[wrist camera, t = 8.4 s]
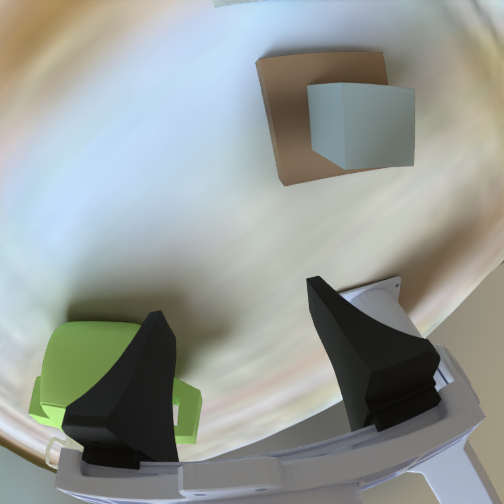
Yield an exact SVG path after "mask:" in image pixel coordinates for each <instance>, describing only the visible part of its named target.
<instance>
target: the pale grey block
mask: <svg viewBox="0 0 504 504" xmlns="http://www.w3.org/2000/svg"><path fill="white" fill-rule="evenodd" d="M307 92H308V103H309V115H310V129H311V145H312V150H313V151H315V152H317V153H318V154H320V155H322V156H323V157H325V158H327V159H328V160H330V161H332V162H333V163H335V164H337V165H338V166H340V167H341V168H343V169H345V170H350V169H364V168H380V167H402V166H414V149H415V93H414V89H411V88H404V87H395V86H386V85H375V84H361V83H328V84H316V85H307Z"/></svg>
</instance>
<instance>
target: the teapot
mask: <svg viewBox="0 0 504 504" xmlns="http://www.w3.org/2000/svg"><path fill="white" fill-rule="evenodd" d="M140 327H141V325H140V324H135V323H126V322H106V321H74V322H66V323H64V324H63V325H61V326H60V327H59V328H57V329H56V330H55V331H54V332H53V334H52V335H51V338H50V340H49V343H48V346H47V349H46V352H45V356H44V360H43V365H42V373H41V376H39V377H36V381H35V385H34V389H33V394H32V398H31V403H30V407H29V412H28V413H29V414H30V415H31V416H32V417H33V418H34V419H35V420H36V421H37V422H38V423H41V424H45V425H49V426H53V427H57V428H59V429H60V430H62V428H61V425H62V421H63V417H64V413H65V410H66V406H68V405H69V404H71V403H72V402H74V401H75V400H76V399H78V398H79V397H81V396H82V395H83V394H84V393H86V392H87V391H88V390H89V389H90V388H92V387H93V386H94V385H95V384H96V383H97V382H98V381H99V380H100V379H101V378H102V377H103V376H104V375H105V374H106V373H107V372H108V371H109V370H110V369H111V367H112V366H113V365H114V364H115V363H116V361H117V360H118V359H119V358H120V356H121V355H122V353H123V352H124V351H125V349H126V348H127V346H128V345H129V344H130V342H131V341H132V339H133V338H134V336H135V335H136V333H137V332H138V330H139V328H140ZM173 403H174V404H175V405H177V406H179V411H178V423H177V426H174V433H175V440H176V444H196V437H197V431H198V425H199V418H200V412H201V406H202V397H201V392H200V390H198V389H196V388H194V387H192V386H190V385H188V384H187V383H185V382H183V381H181V380H179V379H177V378H175V377H174V383H173V396H172V404H173ZM62 431H63V430H62ZM72 440H73V439H72ZM75 442H76V441H75ZM76 443H77V442H76ZM78 444H79V443H78ZM79 445H80V444H79ZM81 446H82V445H81ZM83 449H84V447H83Z"/></svg>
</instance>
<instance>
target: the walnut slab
mask: <svg viewBox="0 0 504 504" xmlns="http://www.w3.org/2000/svg"><path fill="white" fill-rule="evenodd" d="M255 64H256V68H257V72H258V77H259V81H260V86H261V91H262V95H263V100H264V105H265V110H266V114H267V119H268V124H269V129H270V134H271V139H272V145H273V150H274V155H275V160H276V166H277V171H278V177H279V179H280V181H281V182H282V184H283V185H284V186H289V185H293V184H298V183H303V182H308V181H313V180H318V179H323V178H329V177H334V176H340V175H345V174H351V173H357V172H363V171H369V170H375V169H381V168H387V167H380V168H364V169H350V170H345V169H343V168H341V167H340V166H338V165H337V164H335V163H333V162H332V161H330V160H328V159H327V158H325V157H323V156H322V155H320V154H318V153H317V152H315V151H313V150H312V145H311V129H310V115H309V103H308V92H307V85H316V84H328V83H361V84H375V85H386V86H388V82H387V76H386V69H385V63H384V58H383V52H319V53H305V54H294V55H284V56H276V57H269V58H262V59H259V60H257V61H256V62H255Z"/></svg>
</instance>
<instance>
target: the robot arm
mask: <svg viewBox="0 0 504 504" xmlns="http://www.w3.org/2000/svg"><path fill="white" fill-rule="evenodd" d="M306 281H307V291H308V301H309V310H310V313H311V316H312V320H313V323H314V326H315V328H316V331H317V333H318V335H319V337H320V339H321V341H322V344H323V346H324V348H325V350H326V352H327V354H328V357H329V359H330V361H331V363H332V366H333V368H334V371H335V374H336V377H337V381H338V384H339V387H340V390H341V394H342V397H343V401H344V404H345V408H346V411H347V415H348V419H349V423H350V427H351V431H352V432H351V433H348V434H345V435H341V436H338V437H335V438H331V439H328V440H324V441H321V442H317V443H313V444H309V445H305V446H301V447H296V448H292V449H288V450H282V451H277V452H272V453H266V454H260V455H254V456H247V457H240V458H231V459H222V460H210V461H194V462H179V459H178V453H177V448H176V440H175V433H174V422H173V404H172V396H173V383H174V373H175V363H176V338H175V336H174V334H173V332H172V330H171V329H170V327H169V325H168V323H167V321H166V319H165V317H164V315H163V314H162V312H161V311H155V312H150V313H149V315H148V316H147V318H146V319H145V321H144V322H143V324H142V325H141V327H140V328H139V330H138V332H137V333H136V335H135V336H134V338H133V339H132V341H131V342H130V344H129V345H128V346H127V348H126V349H125V351H124V352H123V353H122V355H121V356H120V358H119V359H118V360H117V361H116V363H115V364H114V365H113V366H112V367H111V369H110V370H109V371H108V372H107V373H106V374H105V375H104V376H103V377H102V378H101V379H100V380H99V381H98V382H97V383H96V384H95V385H94V386H93V387H92V388H90V389H89V390H88V391H87V392H86V393H84V394H83V395H82V396H81V397H79V398H78V399H76V400H75V401H74V402H72V403H71V404H69V405H68V406H66V410H65V413H64V417H63V421H62V425H61V428H62V430H63V432H64V433H65V434H66V435H67V436H69V437H70V438H71V439H73V440H74V441H76V442H77V443H79V444H80V445H82V446H83V447H84V449H83V452H82V451H79V450H75V449H69V448H64V447H63V448H61V453H60V458H59V463H58V469H57V475H56V482H55V488H57V489H59V490H61V491H63V492H65V493H67V494H70V495H72V496H74V497H77V498H79V499H81V500H84V501H87V502H91V503H95V504H363V500H362V497H361V494H360V491H363V490H365V489H368V488H370V487H373V486H376V485H378V484H380V483H383V482H385V481H387V480H389V479H392V478H394V477H396V476H398V475H401V474H403V473H405V472H417V473H422V474H423V475H424V477H425V479H426V480H427V482H428V484H429V485H430V487H431V489H432V490H433V492H434V494H435V495H436V497H437V499H438V500H439V502H440V504H502V503H501V500H500V498H499V496H498V494H497V492H496V490H495V488H494V486H493V484H492V483H491V480H490V478H489V477H488V475H487V473H486V471H485V469H484V467H483V466H482V464H481V462H480V460H479V459H478V457H477V455H476V453H475V452H474V450H473V448H472V446H471V445H470V443H469V441H468V438H469V436H470V434H471V432H472V431H473V430H474V429H475V428H476V427H477V426H478V425H479V424H480V423H482V421H484V419H485V417H486V416H485V414H484V413H483V411H482V409H481V407H480V405H479V404H480V401H479V398H478V396H477V394H476V393H475V391H474V390H473V387H472V385H471V383H470V381H469V379H468V377H467V376H466V374H465V372H464V371H463V369H462V368H461V366H460V365H459V363H458V362H457V361H456V359H455V358H454V357H453V356H452V354H451V353H450V352H449V351H448V349H447V348H446V347H445V346H443V345H436V344H434V345H432V344H431V343H430V341H429V340H428V339H424V338H423V337H422V336H421V334H420V333H419V331H418V330H417V328H416V327H415V325H414V324H413V322H412V321H411V320H410V318H409V317H408V315H407V314H406V312H405V311H404V310H403V308H402V307H401V305H400V304H399V303H398V298H399V292H400V286H401V278H400V277H399V276H396V277H393V278H390V279H387V280H383V281H380V282H377V283H373V284H370V285H367V286H363V287H360V288H356V289H353V290H349V291H345V292H342V293H337V292H336V291H335V290H334V289H333V288H332V287H331V286H330V285H329V284H327V283H326V282H325V281H324V280H323V279H322V278H321V277H320V276H315V277H311V278H307V279H306ZM396 284H397V285H396Z"/></svg>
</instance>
